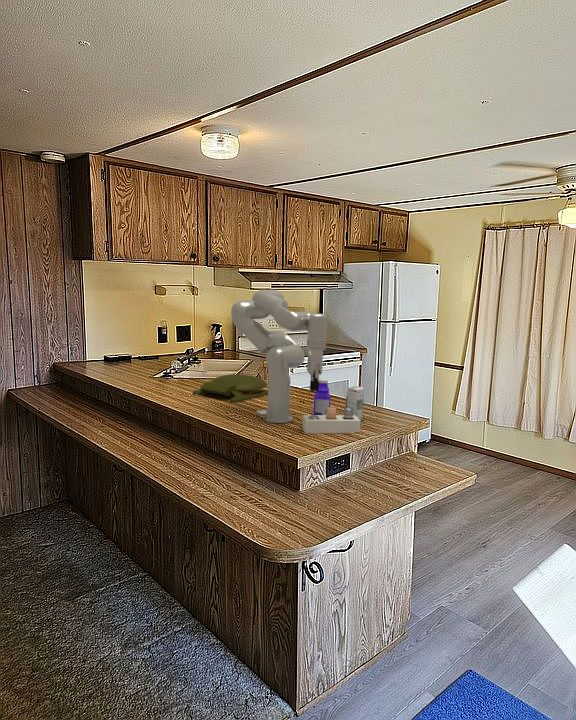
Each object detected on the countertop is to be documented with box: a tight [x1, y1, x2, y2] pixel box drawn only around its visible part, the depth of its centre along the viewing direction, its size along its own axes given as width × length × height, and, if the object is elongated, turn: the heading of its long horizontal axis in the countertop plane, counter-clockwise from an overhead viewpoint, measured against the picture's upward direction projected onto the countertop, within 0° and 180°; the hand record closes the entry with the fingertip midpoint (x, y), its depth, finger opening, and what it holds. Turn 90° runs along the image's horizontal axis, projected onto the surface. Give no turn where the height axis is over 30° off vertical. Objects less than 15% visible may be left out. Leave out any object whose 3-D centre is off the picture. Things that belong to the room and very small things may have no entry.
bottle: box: [312, 378, 331, 415], centre depth 233 cm, size 7×6×17 cm
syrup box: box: [344, 385, 365, 421], centre depth 232 cm, size 6×6×14 cm
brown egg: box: [327, 406, 337, 419], centre depth 215 cm, size 4×4×5 cm
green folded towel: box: [192, 373, 268, 403], centre depth 281 cm, size 35×31×10 cm
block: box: [301, 414, 362, 434], centre depth 216 cm, size 22×9×5 cm, turn 95°
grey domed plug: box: [343, 406, 353, 419], centre depth 216 cm, size 4×4×5 cm
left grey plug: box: [309, 414, 318, 419], centre depth 215 cm, size 4×4×5 cm
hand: (314, 390), depth 214 cm, fingers closed
